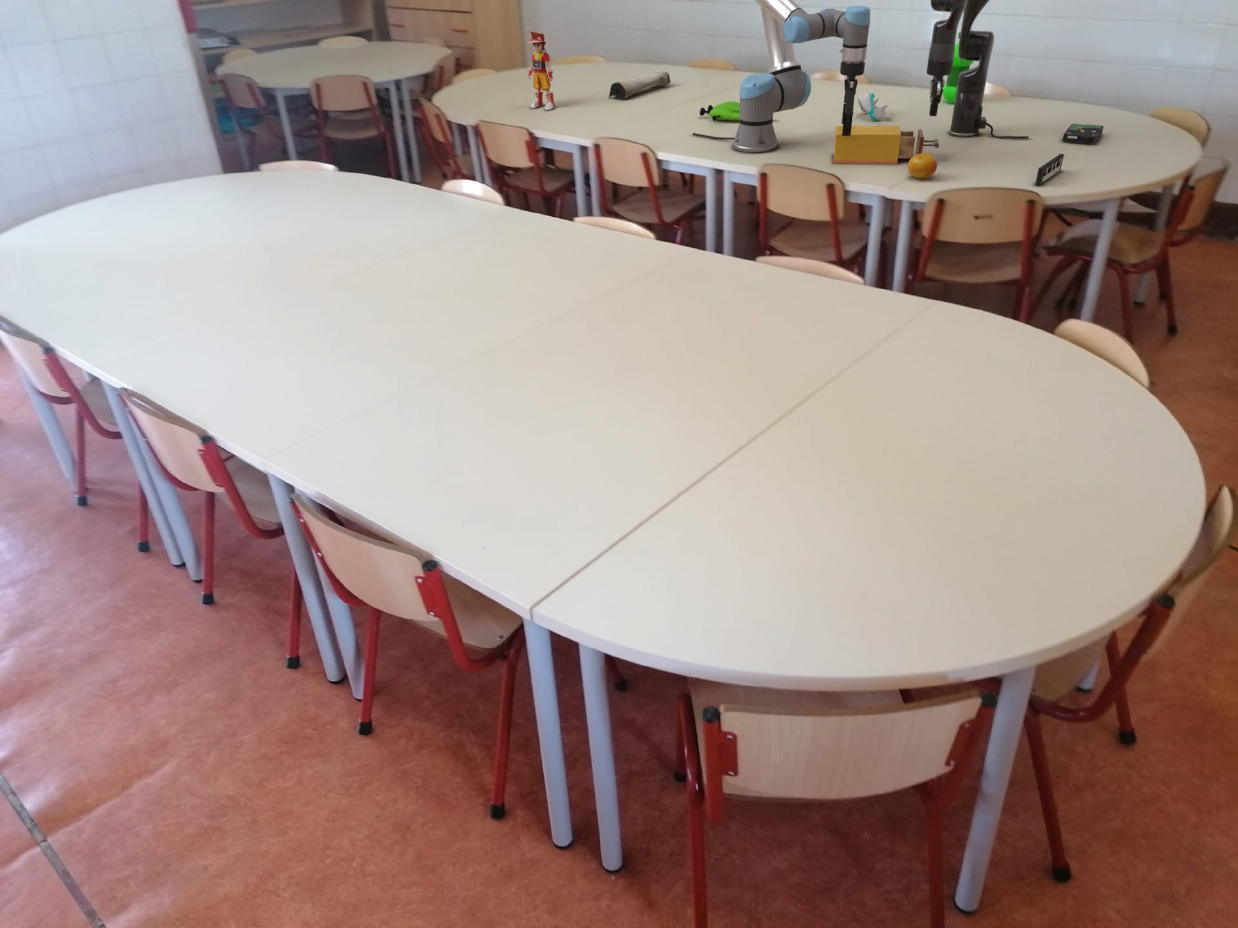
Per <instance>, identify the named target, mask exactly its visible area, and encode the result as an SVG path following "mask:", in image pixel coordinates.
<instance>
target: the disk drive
mask: <svg viewBox="0 0 1238 928" xmlns="http://www.w3.org/2000/svg"><path fill="white" fill-rule="evenodd" d="M1104 127H1105V126H1104V125H1100V124H1099V125H1097V124H1081V123H1071V124H1070V126H1069V127H1068V128H1067V129H1066V130H1065V131H1064V133H1063V136H1062V139H1061V140H1062V141H1063V142H1068V143H1077V144H1090V145H1094V144H1096V143H1097V141H1098V140H1099V138H1100V136H1101V135H1102V134H1103V131H1104Z"/></svg>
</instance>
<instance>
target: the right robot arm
mask: <svg viewBox="0 0 1238 928" xmlns="http://www.w3.org/2000/svg"><path fill="white" fill-rule="evenodd" d="M989 1H990V0H930V7H931V9H932V10H933V11H935V12H941V13H942V12H943V13H950V15H949V17H948V18H946V19H941V20H937V21H935V23H934V25H933V27H932V34H931V42H930V47H929V51H928V58H927V64H926V74H927V75H928V76H932V79H930V81H929V85H930V87H929V88H930V89H929V95H930V96H929V99H930V100H929V103H930V105H929V113H928V114H929V116H930V117H936V116H937V115H938V109H939V104H940V103H941V100H942V97H943V89H944V87H945V85H946V81H945V79H944V77H945V76H946V77H948V75H950V74H951V72H952V66H953V59H954V53H955V45H956V40H957V33H958V27H959V24H960V21H961V18H962V21H961V28H960V32H961V33H960V39H959V38H958V43H959V46H958V57H959V59H960V60H966V61H973V62H978V64H977V65H976V66H974V67H972V68H969V70H966V71H963V72H961V73H960V74H959V77H958V83H957V90H956V96H955V103H953V110H952V115H951V124H950V129H949V134H950V135H952V136H956V137H973V136H979V131H980V130H986V128H987V127H989V128H990V133H989V134H990V136H991V137H992V138H996V139H1029V135H1028V136H1025V135H1022V136H1021V135H1020V136H1018V135H1016V136H1015V135H999V136H998V135H995V134H994V128H993V126H992V125H991V124H990V123H988V120H987V118H986V116H982V115H983V109H984V107H983V102H984V96H985V90H986V83H987V79H988V72H989V67H990V63H991V58H992V53H993V49H994V44H995V34H994V32H993V31H989V30H973V25H974V23H975V21H976V19H977V17H979V15H980V14H981V12H982V10H983V9H984V8H985V7H986V6H987V4H988V3H989Z"/></svg>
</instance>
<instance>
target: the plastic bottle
mask: <svg viewBox="0 0 1238 928" xmlns="http://www.w3.org/2000/svg"><path fill="white" fill-rule="evenodd" d="M960 33H961V31H959V32H958V36H957V39H958V40H959V39H960ZM958 46H959V42H957V43H955V53H954V59H953V66H952V72H951V74H950V75H947V76H946V77H947V78H946V83H945V84H944V87H943V93H942V97H943V99H944V100H945V101H946V102H947V103H948V104H954V103H955V96H956V90H957V83H958V77H959V74H960V73H961V72H963V71H966V70H970V69H971V68H970V67H971V65H972V64H973V63H974V61H966V60H960V59H959V57H958Z"/></svg>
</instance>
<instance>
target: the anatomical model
mask: <svg viewBox="0 0 1238 928" xmlns="http://www.w3.org/2000/svg"><path fill="white" fill-rule="evenodd" d="M875 98H876V95H875V93H874V92H872V91H871V90H869V89H868V90H866V93H865V94H864V95H861V96H858V98H857V102H858V104H859V107H860V110H861V112H863V113H867V114H868V116H869V118H870V119H871V121H873V122H876V121H877V122H878V121H879V120H890V119H891V118H892V115H891V114H887V113H885V111H886V109H887V108H888V104H885V105H882V106H877V105H876V104H877V103H878V101H879V98H876V99H875Z"/></svg>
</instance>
